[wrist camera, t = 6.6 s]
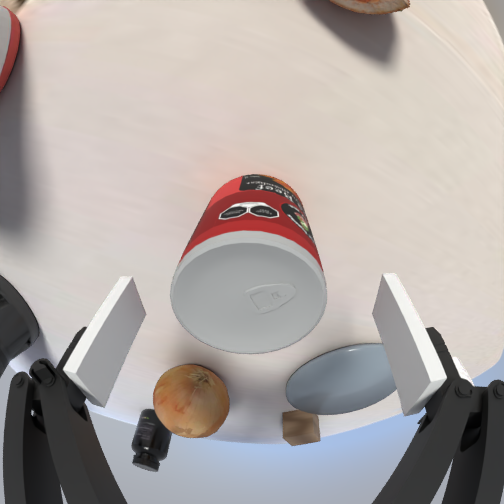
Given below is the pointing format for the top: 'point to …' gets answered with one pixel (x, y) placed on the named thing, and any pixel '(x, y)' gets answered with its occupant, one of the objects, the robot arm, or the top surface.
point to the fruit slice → (373, 5)
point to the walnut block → (300, 427)
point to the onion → (191, 401)
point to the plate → (342, 380)
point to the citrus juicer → (8, 43)
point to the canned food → (250, 270)
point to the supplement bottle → (150, 441)
